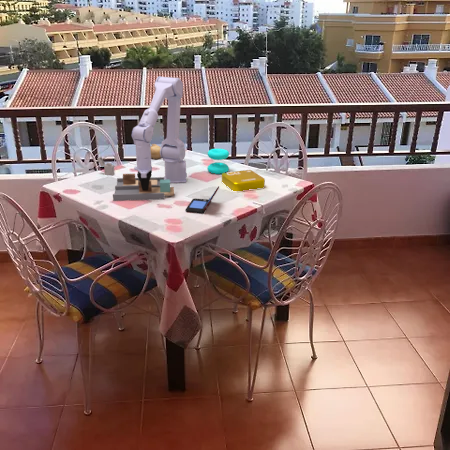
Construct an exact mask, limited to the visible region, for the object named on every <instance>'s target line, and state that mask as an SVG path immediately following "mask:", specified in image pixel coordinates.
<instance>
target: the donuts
mask: <svg viewBox="0 0 450 450" xmlns="http://www.w3.org/2000/svg"><path fill="white" fill-rule="evenodd" d="M229 156H230V152H229V151H228V150H227V149H224V148H211V149H209V150H208V151H207V157H209V159H211V160H214V161H217V162H212V163H209V165H208V166H207V167H206V168H207V171H208V172H209V173H210V172H211V173H210V174H213V173H215V174H216V175H221V174H220V173H225V172H226V173H227V171H228V172H229V170H230V167H229V165H228V164H226V163H225V162H218V161H222V160H226V159H227V158H228V157H229ZM215 174H214V175H215Z"/></svg>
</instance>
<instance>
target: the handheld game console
mask: <svg viewBox="0 0 450 450" xmlns="http://www.w3.org/2000/svg"><path fill="white" fill-rule="evenodd" d="M219 188H220V186H217V187H216V189H215V191H214V192H213V194H212V195H211V196H210V197H209V198H208V199H207V198H192V199H191V200H190V202H189V204H188V205H187V206H186V208H185V213H190V214H202V215H203V214H205V212H206V211H207V210H208V209H207V208H208V207H209V206H210V205H211V203H212V200H213V198H214V197H215V195H216V194H217V192H218V190H219Z"/></svg>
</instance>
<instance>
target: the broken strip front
mask: <svg viewBox="0 0 450 450" xmlns="http://www.w3.org/2000/svg"><path fill="white" fill-rule="evenodd" d="M122 178H123V186H125V185H138V180H135V178H136V173H122Z"/></svg>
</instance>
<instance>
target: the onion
mask: <svg viewBox="0 0 450 450" xmlns="http://www.w3.org/2000/svg"><path fill="white" fill-rule="evenodd" d="M150 146H151V160H152V159H153V160H158V159H162V157H161V155H160V149H161V146H160V145H158V144H156V143H151V145H150Z"/></svg>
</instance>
